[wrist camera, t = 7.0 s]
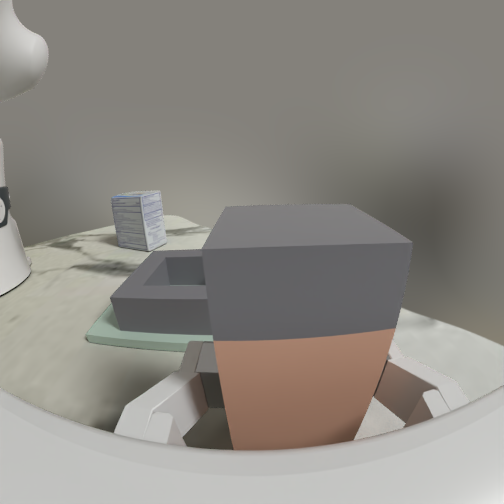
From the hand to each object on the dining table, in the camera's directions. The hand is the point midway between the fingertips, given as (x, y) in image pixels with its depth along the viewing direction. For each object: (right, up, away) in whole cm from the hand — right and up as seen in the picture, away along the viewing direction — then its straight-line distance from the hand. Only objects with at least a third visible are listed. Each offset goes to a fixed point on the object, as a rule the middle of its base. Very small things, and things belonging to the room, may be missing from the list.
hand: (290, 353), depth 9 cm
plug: (0, -6, +1) cm, 6 cm away
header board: (-7, -1, +15) cm, 16 cm away
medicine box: (-19, +4, +33) cm, 38 cm away
